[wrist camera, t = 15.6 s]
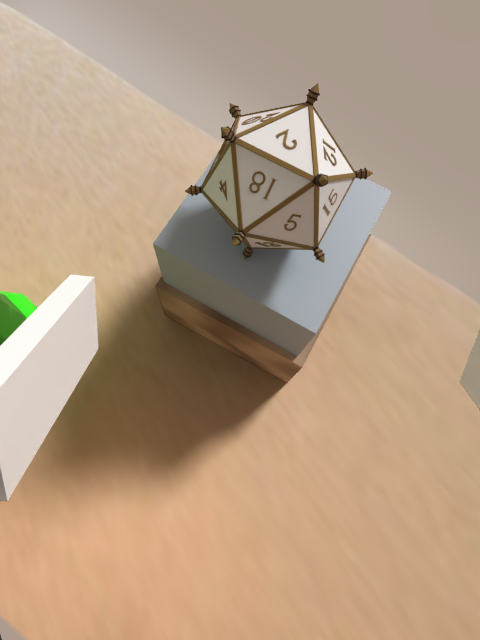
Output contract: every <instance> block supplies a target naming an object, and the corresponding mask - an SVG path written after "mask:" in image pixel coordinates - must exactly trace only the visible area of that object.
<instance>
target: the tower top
mask: <svg viewBox="0 0 480 640" xmlns="http://www.w3.org/2000/svg"><path fill="white" fill-rule="evenodd" d="M217 154H218V153H217ZM216 156H217V155H216ZM216 156H215V157H214V159H213V160H212V162H211V163H210V165H209V166H208V167H207V169H206V170H205V172H204V173H203V174H202V176H201V177H200V179H199V180H198V181H197V183H196V184H195V185H196V186H198V187H200V186H201V185H202V184H203V182H204V180H205V178H206V176H207V174H208V172H209V170H210V168H211V166H212V164H213V162H214V160H215V158H216ZM390 194H391V191H389V190H387V189H385V188H383V187H381V186H379V185H377V184H375V183H373V182H371V181H369V180H367V179H366V180H365V179H361V180H360V179H359V178H355V179H354V181H353V183H352V185H351V187H350V188H349V190H348V192H347V194H346V196H345V198H344V200H343V201H342V203H341V205H340V207H339V209H338V211H337V213H336V215H335V216H334V218H333V220H332V222H331V224H330V226H329V228H328V229H327V231H326V233H325V235H324V237H323V239H322V241H321V242H320V244H319V246H318V247H319V248H320V249H321V250H323V251H322V252H323V253H324V254H325V255H324V256H325V263H323V262H321V261H319V260H316V257H315V256H314V251H313V250H293V249H252V252H253V253H251V255H252V256H251V257H248V258H247V259H245V260H244V255H243V251H244V249H245V248H246V247H247V246H246V244H245V243H244V242H243V241H242V243H241V244H240V245H236V246H233V242H232V236H234V233H235V232H234V230H233V229H232V228H231V227H230V226H229V225H228V223H227V222H226V221H225V220H224V219H223V217H222V216H221V215H220V214H219V213H218V212H217V210H216V209H215V208H214V207H213V206H212V205H211V203H210V202H209V201H208V200H207V199H206V197H205V196H204V195H203V194H202V193H199V194H198V195H197V196H196V195H193V196H192V195H191V194H188V195H187V197H186V198H185V200H184V201H183V202H182V204H181V205H180V207H179V208H178V209H177V211H176V212H175V214H174V215H173V217H172V218H171V219H170V221H169V222H168V224H167V225H166V226H165V228H164V229H163V231H162V232H161V233H160V235H159V236H158V238H157V239H156V240H155V242H154V243H153V245H154V249H155V252H156V256H157V259H158V263H159V266H160V270H161V273H162V277H163V280H164V282H165V283H167V284H169V285H170V286H172V287H174V288H176V289H177V290H179V291H181V292H183V293H185V294H186V295H188V296H190V297H192V298H194V299H195V300H197V301H199V302H201V303H202V304H204V305H206V306H208V307H210V308H211V309H213V310H215V311H217V312H219V313H220V314H222V315H224V316H226V317H227V318H229V319H231V320H233V321H235V322H236V323H238V324H240V325H242V326H244V327H245V328H247V329H249V330H251V331H252V332H254V333H256V334H258V335H260V336H261V337H263V338H265V339H267V340H269V341H270V342H272V343H274V344H276V345H277V346H279V347H281V348H283V349H285V350H286V351H288V352H290V353H292V354H293V355H295V356H298V355H299V354H300V353H301V352H302V350H303V349H304V348H305V347H306V345H307V344H308V343H309V342H310V341H311V339H312V338H313V337H314V336H315V334H316V333H317V331H318V329H319V327H320V325H321V324H322V322H323V320H324V318H325V316H326V314H327V312H328V310H329V309H330V307H331V305H332V303H333V301H334V299H335V297H336V295H337V294H338V292H339V290H340V288H341V286H342V284H343V282H344V280H345V279H346V277H347V275H348V273H349V271H350V269H351V267H352V265H353V264H354V262H355V260H356V258H357V256H358V254H359V252H360V251H361V249H362V247H363V245H364V243H365V241H366V239H367V237H368V236H369V234H370V232H371V230H372V228H373V226H374V224H375V222H376V221H377V219H378V217H379V215H380V213H381V211H382V209H383V207H384V206H385V204H386V202H387V200H388V198H389V196H390Z"/></svg>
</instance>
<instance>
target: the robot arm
mask: <svg viewBox="0 0 480 640" xmlns="http://www.w3.org/2000/svg"><path fill="white" fill-rule="evenodd" d="M98 348H99V347H98V331H97V314H96V298H95V282H94V277H91V276H81V275H70V276H69V277H68V278H67V279H66V280H65V281H64V282H63V283H62V284H61V285H60V286H59V287H58V288H57V289H56V290H55V291H54V292H53V293H52V294H51V295H50V296H49V297H48V298H47V299H46V300H45V301H44V302H43V303H42V304H41V305H40V306H39V307H38V308H37V309H36V310H35V311H34V312H33V313H32V314H31V315H30V316H29V317H28V318H27V319H26V320H25V321H24V322H23V323H22V324H21V325H20V326H19V327H18V328H17V329H16V330H15V331H14V332H13V334H12V335H11V336H10V337H9V338H8V339H7V340H6V341H5V342H4V343H3V344H0V501H8V500H9V498H10V496H11V495H12V493H13V491H14V490H15V488H16V486H17V485H18V483H19V481H20V480H21V478H22V476H23V475H24V473H25V471H26V469H27V468H28V466H29V464H30V463H31V461H32V459H33V458H34V456H35V454H36V453H37V451H38V449H39V448H40V446H41V444H42V443H43V441H44V439H45V438H46V436H47V434H48V433H49V431H50V429H51V427H52V426H53V424H54V422H55V421H56V419H57V417H58V416H59V414H60V412H61V411H62V409H63V407H64V406H65V404H66V402H67V401H68V399H69V397H70V396H71V394H72V392H73V391H74V389H75V387H76V385H77V384H78V382H79V380H80V379H81V377H82V375H83V374H84V372H85V370H86V369H87V367H88V365H89V364H90V362H91V360H92V359H93V357H94V355H95V354H96V352H97V350H98ZM459 382H460V384H461V385H462V386H463V388H464V389H465V390H466V392H467V393H468V395H469V396H470V397H471V399H472V400H473V402H474V403H475V404H476V406H477V407H478V408H479V410H480V330H479V333H478V336H477V338H476V341H475V343H474V346H473V348H472V351H471V353H470V356H469V358H468V361H467V363H466V366H465V368H464V371H463V374H462V376H461V379H460V381H459ZM0 640H2V639H1V635H0Z"/></svg>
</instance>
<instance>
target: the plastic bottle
mask: <svg viewBox="0 0 480 640" xmlns="http://www.w3.org/2000/svg"><path fill="white" fill-rule="evenodd" d="M36 309H37V307H36V306H35V305H34V304H33V303H32V302H31V301H30V300H29V299H28V298H27V297H26V296H24V295H23V294H17V293H9V292H2V291H0V344H3V343H4V342H5V341H6V340H7V339H8V338H9V337H10V336H11V335H12V334H13V332H14V331H15V330H16V329H17V328H18V327H19V326H20V325H21V324H22V323H23V322H24V321H25V320H26V319H27V318H28V317H29V316H30V315H31V314H32V313H33V312H34V311H35V310H36Z"/></svg>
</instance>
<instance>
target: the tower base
mask: <svg viewBox="0 0 480 640" xmlns="http://www.w3.org/2000/svg"><path fill="white" fill-rule="evenodd" d="M370 236H371V234H369V236H368V237H367V239H366V241H365V243H364V245H363V247H362V249H361V251H360V252H359V254H358V256H357V258H356V260H355V262H354V264H353V265H352V267H351V269H350V271H349V273H348V275H347V277H346V279H345V280H344V282H343V284H342V286H341V288H340V290H339V292H338V294H337V295H336V297H335V299H334V301H333V303H332V305H331V307H330V309H329V310H328V312H327V314H326V316H325V318H324V320H323V322H322V324H321V325H320V327H319V329H318V331H317V333H316V334H315V336H314V337H313V338H312V339H311V341H310V342H309V343H308V344H307V345H306V347H305V348H304V349H303V350H302V352H301V353H300V354H299V355H298V356H295V355H293V354H292V353H290V352H288V351H286V350H285V349H283V348H281V347H279V346H277V345H276V344H274V343H272V342H270V341H269V340H267V339H265V338H263V337H261V336H260V335H258V334H256V333H254V332H252V331H251V330H249V329H247V328H245V327H244V326H242V325H240V324H238V323H236V322H235V321H233V320H231V319H229V318H227V317H226V316H224V315H222V314H220V313H219V312H217V311H215V310H213V309H211V308H210V307H208V306H206V305H204V304H202V303H201V302H199V301H197V300H195V299H194V298H192V297H190V296H188V295H186V294H185V293H183V292H181V291H179V290H177V289H176V288H174V287H172V286H170V285H169V284H167V283H165V282H164V280H163V277H161V279H160V280H159V282H158V283H157V285H156V286H155V287H156V290H157V293H158V295H159V298H160V301H161V304H162V307H163V310H164V313H165V315H166V316H168V317H169V318H171V319H173V320H175V321H177V322H178V323H180V324H182V325H184V326H185V327H187V328H189V329H191V330H193V331H194V332H196V333H198V334H200V335H202V336H203V337H205V338H207V339H209V340H211V341H212V342H214V343H216V344H218V345H220V346H221V347H223V348H225V349H227V350H229V351H230V352H232V353H234V354H236V355H238V356H239V357H241V358H243V359H245V360H247V361H248V362H250V363H252V364H254V365H256V366H257V367H259V368H261V369H263V370H265V371H266V372H268V373H270V374H272V375H274V376H275V377H277V378H279V379H281V380H282V381H284V382H286V383H287V382H288V381H289V380H290V379H291V378H292V377H293V376H294V375H295V374H296V373H297V372H298V371H299V370H300V369H301V368H302V367H303V365H304V363H305V361H306V359H307V357H308V355H309V353H310V351H311V349H312V347H313V345H314V344H315V342H316V340H317V338H318V336H319V334H320V332H321V330H322V328H323V326H324V324H325V322H326V320H327V318H328V317H329V315H330V313H331V311H332V309H333V307H334V305H335V303H336V301H337V299H338V297H339V295H340V293H341V291H342V290H343V288H344V286H345V284H346V282H347V280H348V278H349V276H350V274H351V272H352V270H353V268H354V266H355V264H356V263H357V261H358V259H359V257H360V255H361V253H362V251H363V249H364V247H365V245H366V243H367V241H368V239H369V238H370Z"/></svg>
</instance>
